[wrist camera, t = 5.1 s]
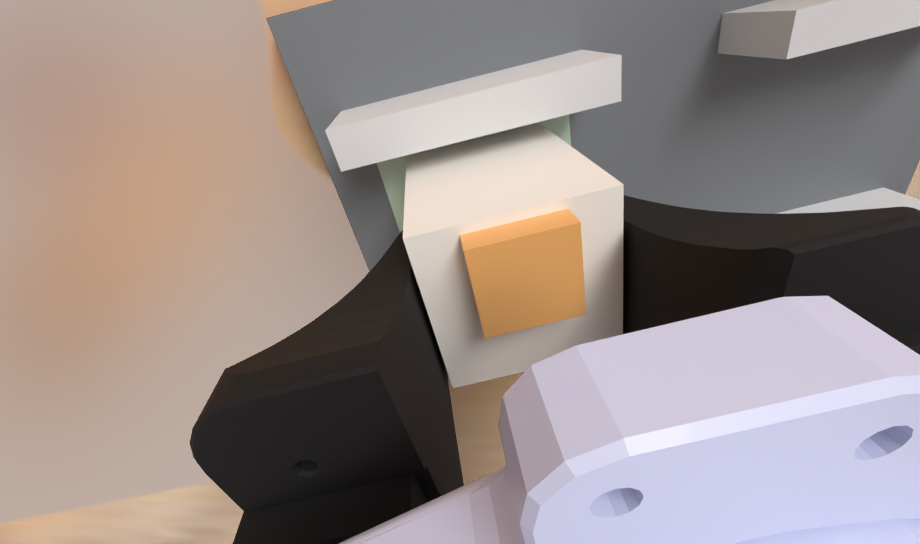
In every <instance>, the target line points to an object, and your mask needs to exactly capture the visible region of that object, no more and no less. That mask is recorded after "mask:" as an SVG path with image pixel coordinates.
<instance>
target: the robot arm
mask: <svg viewBox="0 0 920 544" xmlns="http://www.w3.org/2000/svg"><path fill="white" fill-rule="evenodd" d="M498 426H499V431H500V435H501V440H502V444H503V449H504V454H505V458H506V466H505V467H503V468H501V469H498V470H496V471H494V472H492V473H490V474H488V475H485V476H483V477H481V478H479V479H477V480H475V481H473V482H470V483H468V484H466V485H464V484H463V477H462V471H461V465H460V459H459V452H458V446H457V439H456V433H455V426H454V420H453V413H452V406H451V399H450V392H449V384H448V372H447V369H446V366H445V363H444V360H443V357H442V354H441V352H440V349H439V346H438V343H437V340H436V337H435V334H434V331H433V328H432V325H431V322H430V319H429V316H428V313H427V310H426V307H425V304H424V301H423V298H422V295H421V292H420V289H419V286H418V283H417V280H416V277H415V274H414V271H413V268H412V265H411V262H410V259H409V256H408V253H407V250H406V247H405V244H404V241H403V230H402V231H401V232H400V233H399V235H398V236H397V237H396V239H395V240H394V242H393V243H392V244H391V246H390V247H389V248H388V250H387V251H386V252H385V254H384V255H383V256H382V258H381V259H380V260H379V261H378V263H377V264H376V265H375V266H374V267H373V268H372V269H371V271H370V272H369V273H368V274H367V275H366V277H365V278H364V279H363V280H362V281H361V282H360V283H359V284H358V285H357V286H356V287H355V288H354V289H353V290H351V292H349V293H348V294H347V295H346V296H345V297H344V298H343V299H341V300H340V301H339V302H338V303H336V304H335V305H334V306H333V307H331V308H330V309H328V310H327V311H326V312H324V313H323V314H322V315H320V316H319V317H318V318H316V319H315V320H314V321H312V322H311V323H309V324H308V325H306V326H305V327H303V328H301V329H300V330H298V331H297V332H295V333H293V334H292V335H290V336H289V337H287V338H285V339H283V340H282V341H280V342H278V343H276V344H275V345H273V346H271V347H269V348H267V349H265V350H263V351H261V352H259V353H257V354H255V355H253V356H251V357H249V358H247V359H245V360H243V361H241V362H239V363H237V364H235V365H233V366H231V367H229V368H226V369H225V370H224V372H223V374H222V376H221V377H220V379H219V381H218V383H217V385H216V387H215V388H214V390H213V392H212V394H211V396H210V398H209V399H208V401H207V403H206V405H205V407H204V409H203V411H202V413H201V414H200V416H199V418H198V420H197V422H196V423H195V425H194V427H193V430H192V435H191V440H190V446H191V449H192V453H193V457H194V458H195V460H196V461H197V463H198V464H199V465H200V467H201V468H202V469H203V471H204V472H205V473H206V474H207V475H208V476H209V477H210V478H211V479H212V480H213V481H214V482H215V483H216V484H217V485H218V486H219V487H220V488H221V489H222V490H223V491H224V492H225V493H226V494H227V495H228V496H229V497H230V498H231V499H232V500H233V501H234V502H235V503H236V504H237V505H238V506H239V507H240V508H241V509H242V510H243V511H244V513H243V516H242V519H241V522H240V525H239V527H238V530H237V533H236V536H235V539H234V542H233V544H920V210H918V209H915V208H911V207H890V208H877V209H865V210H852V211H840V212H824V213H790V214H760V213H736V212H720V211H709V210H700V209H692V208H684V207H677V206H671V205H666V204H661V203H656V202H651V201H647V200H642V199H638V198H634V197H630V196H626V195H624V210H623V334H622V335H618V336H614V337H609V338H605V339H601V340H597V341H592V342H588V343H584V344H580V345H575V346H572V347H570V348H568V349H565V350H563V351H561V352H558V353H556V354H554V355H552V356H549V357H547V358H545V359H543V360H540V361H538V362H536V363H534V364H532V365H531V366H530V367H529V368H528V369H527V370H526V371H525V372H524V373H523V374H522V376H521V377H520V378H519V379H518V380H517V381H516V382H515V383H514V384H513V385H512V386H511V387H510V388H509V389H508V391H507V392H506V393H505V394H504V395H503V398H502V404H501V411H500V418H499V425H498Z"/></svg>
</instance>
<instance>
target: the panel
mask: <svg viewBox="0 0 920 544" xmlns="http://www.w3.org/2000/svg"><path fill="white" fill-rule="evenodd" d="M266 20H267V22H268V24H269V27H270V29H271V32H272V34H273V37H274V39H275V42H276V44H277V46H278V49H279V51H280V54H281V56H282V59H283V61H284V63H285V66H286V68H287V71H288V73H289V76H290V78H291V81H292V83H293V85H294V88H295V90H296V93H297V95H298V98H299V100H300V102H301V105H302V107H303V110H304V112H305V115H306V117H307V120H308V122H309V124H310V127H311V129H312V132H313V134H314V137H315V139H316V142H317V144H318V146H319V149H320V151H321V154H322V156H323V159H324V161H325V163H326V166H327V168H328V171H329V173H330V176H331V178H332V181H333V183H334V185H335V188H336V190H337V193H338V195H339V198H340V200H341V202H342V205H343V207H344V210H345V212H346V215H347V217H348V219H349V222H350V224H351V227H352V229H353V232H354V234H355V237H356V239H357V242H358V244H359V246H360V249H361V251H362V254H363V256H364V259H365V261H366V263H367V266H368V268H369V271H371V269H372V268H373V267H374V266H375V265H376V264H377V263H378V261H379V260H380V259H381V258H382V256H383V255H384V254H385V252H386V251H387V250H388V248H389V247H390V246H391V244H392V243H393V242H394V240H395V239H396V237H397V236H398V235H399V233H400V232H401V231H402V230H403V221H404V200H405V179H406V158H407V156H408V155H412V154H416V153H420V152H424V151H428V150H432V149H436V148H440V147H444V146H447V145H451V144H455V143H459V142H463V141H467V140H471V139H475V138H479V137H483V136H487V135H491V134H495V133H499V132H503V131H507V130H511V129H515V128H519V127H523V126H527V125H531V124H535V123H540V124H541V125H543V126H544V127H545V128H547V129H548V130H549V131H551V132H552V133H554V134H555V135H556V136H558V137H559V138H560V139H562V140H563V141H565V142H566V143H567V144H569V145H570V146H571V147H573V148H574V149H576V150H577V151H578V152H580V153H581V154H582V155H584V156H585V157H587V158H588V159H589V160H591V161H592V162H593V163H595V164H596V165H598V166H599V167H600V168H602V169H603V170H605V171H606V172H607V173H609V174H610V175H611V176H613V177H614V178H616V179H617V180H618V181H620V182H621V183H622V184H624V195H626V196H630V197H634V198H638V199H642V200H647V201H651V202H656V203H661V204H666V205H671V206H677V207H684V208H692V209H700V210H709V211H720V212H736V213H760V214H790V213H824V212H840V211H852V210H865V209H877V208H890V207H911V208H915V209H918V210H920V200H919V199H916V198H913V197H910V196H907V195H905V193H906V191H907V188H908V186H909V184H910V181H911V179H912V177H913V174H914V172H915V170H916V167H917V165H918V162H919V160H920V0H333V1H329V2H326V3H322V4H318V5H314V6H310V7H307V8H303V9H299V10H295V11H291V12H288V13H284V14H280V15H276V16H273V17H269V18H266Z"/></svg>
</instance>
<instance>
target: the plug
mask: <svg viewBox="0 0 920 544" xmlns="http://www.w3.org/2000/svg"><path fill="white" fill-rule="evenodd" d="M623 210H624V184H622V183H621V182H620V181H618V180H617V179H616V178H614V177H613V176H611V175H610V174H609V173H607V172H606V171H605V170H603V169H602V168H600V167H599V166H598V165H596V164H595V163H593V162H592V161H591V160H589V159H588V158H587V157H585V156H584V155H582V154H581V153H580V152H578V151H577V150H576V149H574V148H573V147H571V146H570V145H569V144H567V143H566V142H565V141H563V140H562V139H560V138H559V137H558V136H556V135H555V134H554V133H552V132H551V131H549V130H548V129H547V128H545V127H544V126H543V125H541V124H540V123H535V124H531V125H527V126H523V127H519V128H515V129H511V130H507V131H503V132H499V133H495V134H491V135H487V136H483V137H479V138H475V139H471V140H467V141H463V142H459V143H455V144H451V145H447V146H444V147H440V148H436V149H432V150H428V151H424V152H420V153H416V154H412V155H408V156H407V158H406V179H405V200H404V221H403V241H404V244H405V247H406V250H407V253H408V256H409V259H410V262H411V265H412V268H413V271H414V274H415V277H416V280H417V283H418V286H419V289H420V292H421V295H422V298H423V301H424V304H425V307H426V310H427V313H428V316H429V319H430V322H431V325H432V328H433V331H434V334H435V337H436V340H437V343H438V346H439V349H440V352H441V354H442V357H443V360H444V363H445V366H446V369H447V372H448V375H449V378H450V381H451V384H452V387H453V388H457V387H462V386H466V385H470V384H474V383H479V382H483V381H487V380H492V379H496V378H500V377H504V376H509V375H513V374H517V373H521V372H525V371H526V370H527V369H528V368H529V367H530V366H531V365H532V364H534V363H536V362H538V361H540V360H543V359H545V358H547V357H549V356H552V355H554V354H556V353H558V352H561V351H563V350H565V349H568V348H570V347H572V346H575V345H580V344H584V343H588V342H592V341H597V340H601V339H605V338H609V337H614V336H618V335H622V334H623Z"/></svg>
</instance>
